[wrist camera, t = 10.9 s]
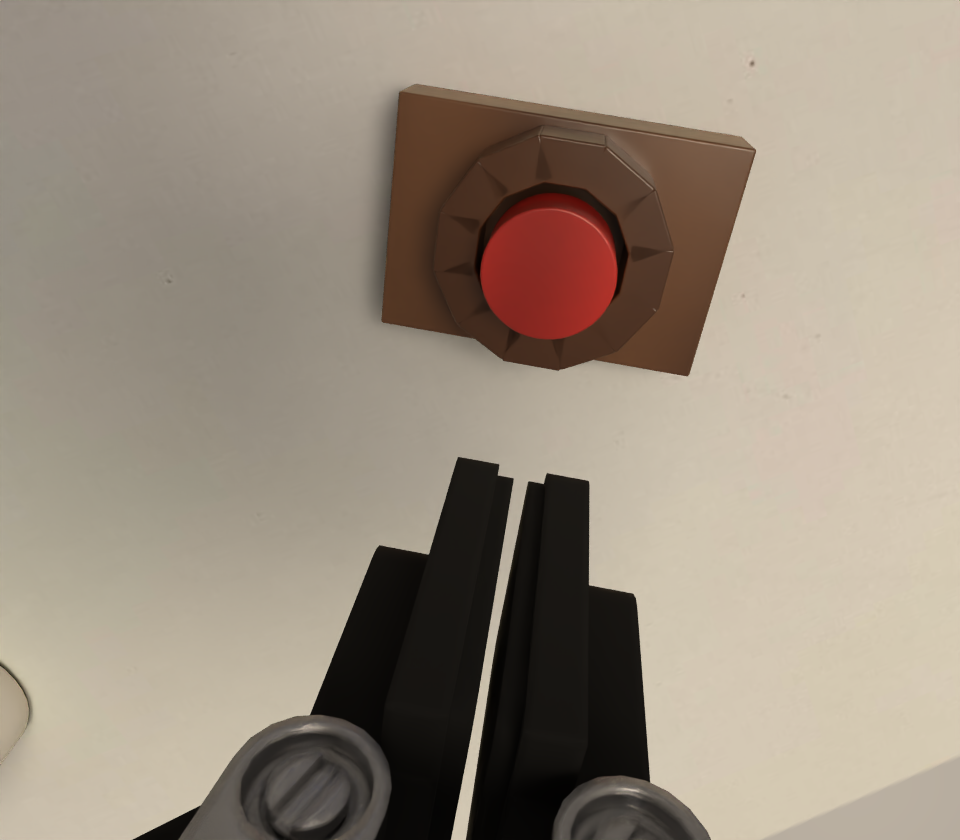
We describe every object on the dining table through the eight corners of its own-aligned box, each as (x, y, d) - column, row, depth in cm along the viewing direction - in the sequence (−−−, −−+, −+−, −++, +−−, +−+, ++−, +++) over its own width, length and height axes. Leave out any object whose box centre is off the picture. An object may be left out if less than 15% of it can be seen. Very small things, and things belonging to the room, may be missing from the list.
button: (628, 204, 21) (631, 220, 19) (600, 327, 23) (601, 351, 21) (497, 182, 21) (489, 196, 19) (479, 306, 23) (471, 328, 21)
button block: (743, 136, 23) (770, 161, 19) (681, 350, 26) (695, 403, 23) (414, 83, 23) (383, 98, 20) (395, 299, 27) (366, 344, 23)
